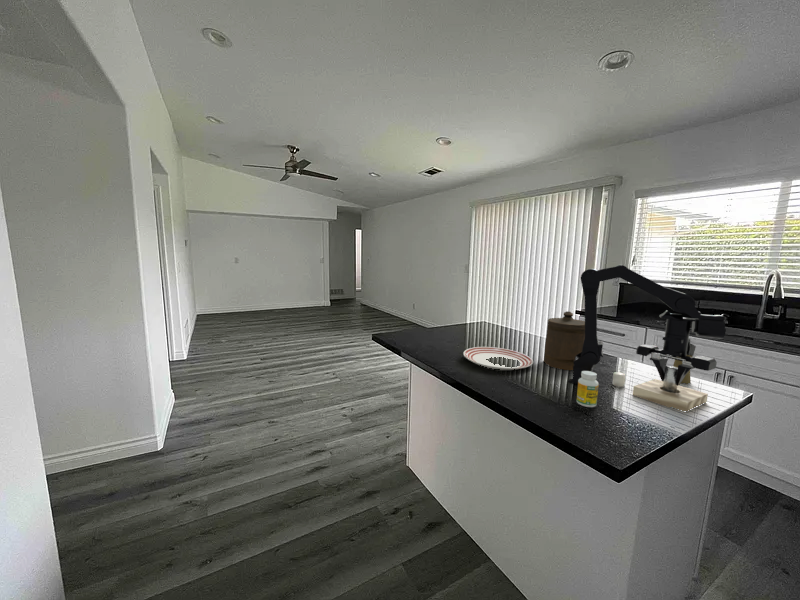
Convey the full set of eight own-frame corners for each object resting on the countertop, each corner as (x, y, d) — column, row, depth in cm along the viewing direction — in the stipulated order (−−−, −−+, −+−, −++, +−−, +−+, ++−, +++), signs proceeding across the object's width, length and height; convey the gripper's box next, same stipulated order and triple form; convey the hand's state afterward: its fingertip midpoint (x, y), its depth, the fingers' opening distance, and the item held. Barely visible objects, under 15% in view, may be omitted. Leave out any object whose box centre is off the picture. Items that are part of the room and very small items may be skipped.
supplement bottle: (587, 399, 105) (590, 369, 104) (600, 407, 100) (604, 375, 99) (572, 400, 104) (574, 370, 103) (585, 408, 99) (588, 376, 98)
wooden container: (590, 366, 138) (595, 312, 135) (573, 373, 129) (578, 316, 126) (554, 357, 149) (558, 307, 147) (536, 363, 140) (540, 310, 137)
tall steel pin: (673, 395, 104) (676, 370, 103) (660, 391, 107) (663, 366, 106) (678, 393, 106) (682, 368, 105) (665, 389, 109) (668, 365, 108)
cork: (682, 378, 126) (686, 349, 125) (694, 384, 120) (699, 354, 119) (665, 377, 127) (668, 348, 125) (676, 383, 121) (680, 353, 119)
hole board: (685, 412, 97) (687, 402, 97) (632, 395, 109) (633, 386, 109) (706, 403, 104) (707, 393, 104) (654, 387, 116) (655, 378, 116)
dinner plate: (538, 361, 144) (539, 353, 144) (524, 380, 121) (524, 371, 121) (476, 350, 159) (476, 343, 158) (452, 365, 136) (452, 357, 135)
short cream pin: (620, 387, 116) (622, 376, 115) (610, 384, 119) (611, 373, 118) (626, 385, 117) (627, 374, 117) (615, 382, 120) (617, 371, 120)
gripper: (727, 338, 100) (719, 389, 102) (655, 326, 116) (649, 370, 118) (711, 342, 95) (703, 396, 97) (638, 328, 111) (632, 375, 113)
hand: (670, 383), depth 106 cm, fingers closed on tall steel pin, 3 cm apart
